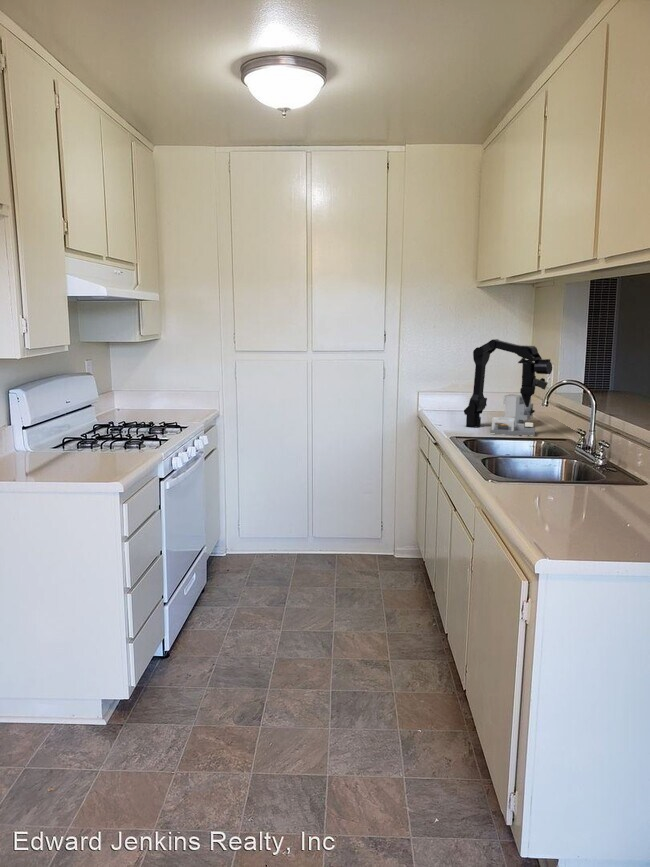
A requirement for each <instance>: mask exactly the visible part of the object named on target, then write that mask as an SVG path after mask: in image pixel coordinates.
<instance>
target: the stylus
mask: <svg viewBox="0 0 650 867" xmlns="http://www.w3.org/2000/svg"><path fill="white" fill-rule="evenodd" d="M531 403H532V397H531V398H530V403H529V407H526V405H525V403H524V415H530V411H531Z"/></svg>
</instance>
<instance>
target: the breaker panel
mask: <svg viewBox="0 0 650 867" xmlns="http://www.w3.org/2000/svg"><path fill="white" fill-rule="evenodd" d="M497 423H498V425H496V424H497ZM503 423H512V426H509V425H506V426H500V424H503ZM489 430H490V431H489V432H490V433H495V434H494V435H496V434H505V435H504V436H515V435H533V436H536V427H535V426H533V427H526V426H525V423H524V424H516V427H515V418H505V417H503V416H493V417H492V419H491V428H490V429H489ZM490 433H489V434H490ZM533 436H532V437H533Z"/></svg>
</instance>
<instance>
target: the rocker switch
mask: <svg viewBox="0 0 650 867" xmlns="http://www.w3.org/2000/svg"><path fill="white" fill-rule="evenodd" d="M524 424H525V425H524V427H534V422H529V421H527V422H526V421H525V422H524Z"/></svg>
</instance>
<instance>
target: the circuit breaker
mask: <svg viewBox="0 0 650 867" xmlns="http://www.w3.org/2000/svg"><path fill="white" fill-rule="evenodd" d="M503 405H504V415H503V416H502V417H505V418H515V427H516V424H525V422H524V421H528V420H532V419H533V413H535V412H536V410H535V409H534V403H532V402H531V411H530V415H524V400H523V397H522V395H521V394H510V393H509V394H506V395H504V398H503ZM502 424H506V425H509V426H508V427H512V423H502Z"/></svg>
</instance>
